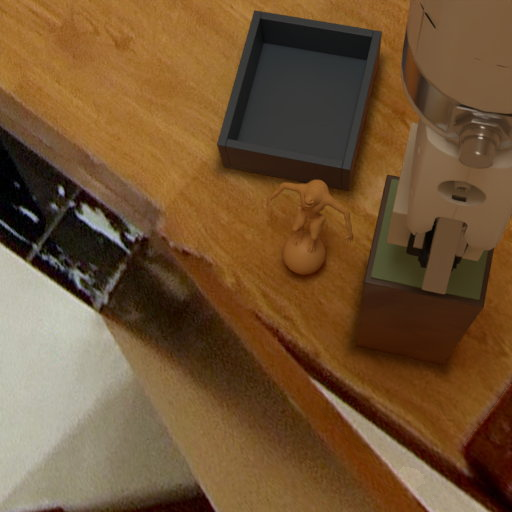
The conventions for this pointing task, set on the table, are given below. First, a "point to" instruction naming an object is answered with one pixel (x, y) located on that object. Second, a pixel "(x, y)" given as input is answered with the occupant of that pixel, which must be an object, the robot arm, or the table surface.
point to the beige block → (398, 225)
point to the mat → (408, 267)
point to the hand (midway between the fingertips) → (442, 205)
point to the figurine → (305, 243)
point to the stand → (413, 312)
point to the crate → (300, 99)
